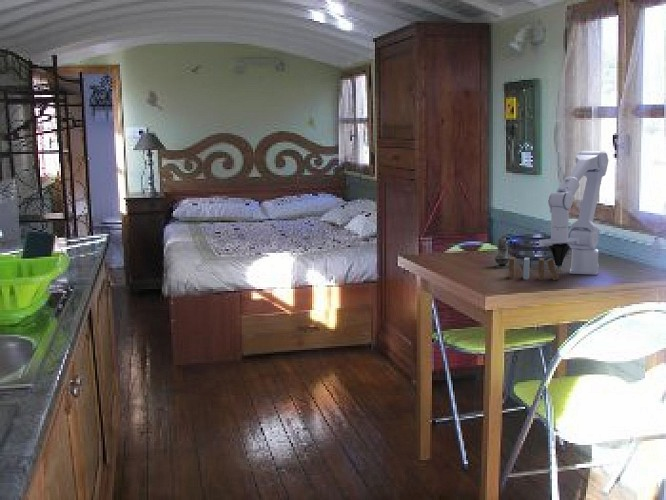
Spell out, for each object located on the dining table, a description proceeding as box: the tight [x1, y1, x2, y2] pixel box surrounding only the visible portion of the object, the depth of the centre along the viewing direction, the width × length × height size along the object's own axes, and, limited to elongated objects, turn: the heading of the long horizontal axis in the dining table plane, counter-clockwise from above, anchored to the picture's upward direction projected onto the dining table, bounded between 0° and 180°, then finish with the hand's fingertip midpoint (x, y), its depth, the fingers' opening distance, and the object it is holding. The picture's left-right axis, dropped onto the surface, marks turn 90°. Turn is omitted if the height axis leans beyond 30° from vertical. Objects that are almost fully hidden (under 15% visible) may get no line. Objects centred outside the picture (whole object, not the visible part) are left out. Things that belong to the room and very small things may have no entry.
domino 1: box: [508, 256, 516, 280], centre depth 272 cm, size 2×4×7 cm, turn 161°
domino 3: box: [537, 257, 545, 281], centre depth 269 cm, size 2×4×7 cm, turn 161°
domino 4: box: [546, 257, 559, 281], centre depth 268 cm, size 2×4×7 cm, turn 160°
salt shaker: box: [493, 235, 511, 269], centre depth 293 cm, size 6×6×12 cm
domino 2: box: [522, 257, 531, 280], centre depth 271 cm, size 2×4×7 cm, turn 160°
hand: (558, 265), depth 267 cm, fingers closed
